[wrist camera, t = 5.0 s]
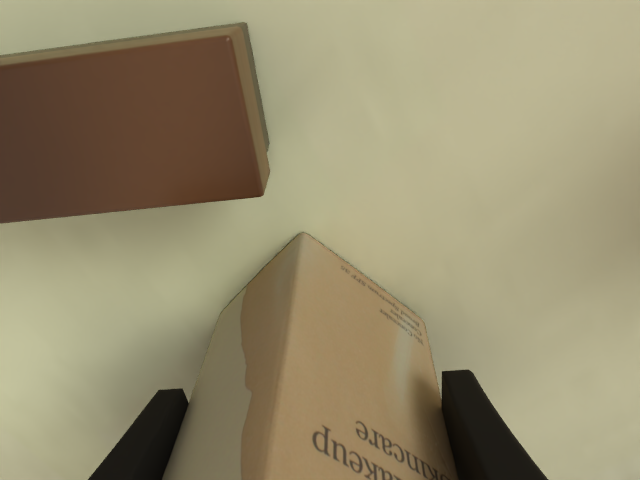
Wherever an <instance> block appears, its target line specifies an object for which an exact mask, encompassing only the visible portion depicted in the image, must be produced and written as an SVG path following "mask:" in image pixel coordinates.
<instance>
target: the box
mask: <svg viewBox="0 0 640 480" xmlns="http://www.w3.org/2000/svg"><path fill="white" fill-rule="evenodd" d="M441 407H442V401H441V397H440V392H439V387H438V382H437V378H436V373H435V369H434V364H433V360H432V355H431V351H430V346H429V342H428V337H427V332H426V327H425V324H424V322H423V320H422V319H421V318H419V317H418V316H417V315H416V314H414V313H413V312H412V311H410V310H409V309H408V308H406V307H405V306H404V305H402V304H401V303H400V302H398V301H397V300H396V299H395V298H393V297H392V296H391V295H389V294H388V293H387V292H385V291H384V290H383V289H381V288H380V287H379V286H377V285H376V284H375V283H373V282H372V281H371V280H369V279H368V278H367V277H365V276H364V275H363V274H361V273H360V272H359V271H357V270H356V269H355V268H353V267H352V266H351V265H349V264H348V263H347V262H345V261H344V260H343V259H341V258H340V257H338V256H337V255H336V254H334V253H333V252H332V251H330V250H329V249H327V248H326V247H325V246H323V245H322V244H321V243H319V242H318V241H316V240H315V239H314V238H312V237H311V236H309V235H308V234H306V233H301V234H299V235H298V236H297V237H296V238H295V239H294V240H292V241H291V242H290V243H289V244H288V245H287V246H286V247H285V248H284V249H283V250H282V251H281V252H280V253H279V254H278V255H277V256H276V257H275V258H274V259H273V260H272V261H271V262H270V263H269V264H267V265H266V266H265V267H264V268H263V270H261V271H260V272H259V273H258V275H257V276H256V277H255V278H254V279H253V280H252V281H251V282H250V283H249V284H248V285H247V286H246V287H245V288H244V289H243V290H242V291H241V292H240V293H239V294H238V295H237V296H236V297H235V298H234V299H233V301H232V302H231V303H230V304H229V305H228V306H227V307H226V308H225V309H224V310H223V311H222V312H221V314H220V316H219V319H218V321H217V324H216V327H215V330H214V333H213V336H212V339H211V341H210V344H209V347H208V350H207V353H206V356H205V359H204V361H203V364H202V367H201V370H200V373H199V375H198V378H197V381H196V384H195V387H194V390H193V392H192V396H191V399H190V402H189V404H188V407H187V410H186V413H185V416H184V419H183V422H182V424H181V427H180V430H179V433H178V436H177V439H176V442H175V444H174V447H173V450H172V453H171V456H170V459H169V461H168V464H167V467H166V469H165V472H164V475H163V478H162V480H459V479H458V475H457V470H456V466H455V461H454V456H453V453H452V450H451V446H450V442H449V438H448V434H447V429H446V425H445V421H444V417H443V412H442V408H441Z"/></svg>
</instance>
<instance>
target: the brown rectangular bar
mask: <svg viewBox="0 0 640 480" xmlns="http://www.w3.org/2000/svg"><path fill="white" fill-rule="evenodd" d="M269 144H270V143H269V138H268V133H267V127H266V122H265V117H264V111H263V106H262V101H261V96H260V90H259V85H258V80H257V74H256V69H255V64H254V59H253V53H252V48H251V43H250V37H249V32H248V27H247V23H245V22H242V23H235V24H227V25H220V26H213V27H205V28H198V29H191V30H183V31H176V32H169V33H161V34H154V35H147V36H139V37H132V38H124V39H117V40H110V41H102V42H95V43H88V44H80V45H73V46H66V47H58V48H51V49H44V50H36V51H29V52H21V53H14V54H7V55H0V223H10V222H20V221H29V220H39V219H49V218H59V217H68V216H78V215H88V214H98V213H108V212H117V211H127V210H137V209H147V208H156V207H166V206H176V205H186V204H195V203H205V202H215V201H225V200H235V199H244V198H254V197H261V196H263V195H264V192H265V188H266V185H267V181H268V178H269V174H270V168H269V163H268V158H267V150H268V147H269Z"/></svg>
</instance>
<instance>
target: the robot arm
mask: <svg viewBox="0 0 640 480" xmlns="http://www.w3.org/2000/svg"><path fill="white" fill-rule="evenodd" d="M188 404H189V403H188V401H187V398H186V396H185V393H184V391H183V389H168V390H159V391H158V392H157V393H156V394H155V396H154V397H153V398H152V399H151V401H150V402H149V403H148V404H147V406H146V407H145V408H144V410H143V411H142V412H141V413H140V415H139V416H138V417H137V419H136V420H135V421H134V423H133V424H132V425H131V426H130V428H129V429H128V430H127V432H126V433H125V434H124V435H123V437H122V438H121V439H120V441H119V442H118V443H117V444H116V446H115V447H114V448H113V449H112V451H111V452H110V453H109V454H108V456H107V457H106V458H105V459H104V460H103V462H102V463H101V464H100V465H99V467H98V468H97V469H96V470H95V472H94V473H93V474H92V475H91V476H90V478H89V479H88V480H162V478H163V475H164V472H165V469H166V467H167V464H168V461H169V459H170V456H171V453H172V450H173V447H174V444H175V442H176V439H177V436H178V433H179V430H180V427H181V424H182V422H183V419H184V416H185V413H186V410H187V407H188ZM441 408H442V412H443V417H444V421H445V425H446V429H447V434H448V438H449V442H450V446H451V450H452V453H453V456H454V461H455V466H456V470H457V475H458V479H459V480H548V479H547V478H546V476H545V475H544V474H543V473H542V471H541V470H540V469H539V468H538V466H537V465H536V464H535V463H534V461H533V460H532V459H531V458H530V456H529V455H528V454H527V452H526V451H525V450H524V448H523V447H522V446H521V444H520V443H519V442H518V440H517V439H516V438H515V436H514V435H513V434H512V432H511V431H510V429H509V428H508V427H507V425H506V424H505V422H504V421H503V420H502V418H501V417H500V415H499V414H498V412H497V411H496V409H495V408H494V406H493V405H492V403H491V402H490V400H489V399H488V397H487V396H486V394H485V392H484V391H483V389H482V388H481V386H480V384H479V383H478V381H477V379H476V377H475V376H474V374H473V373H472V372H471V371H470V370H455V371H442V407H441Z"/></svg>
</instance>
